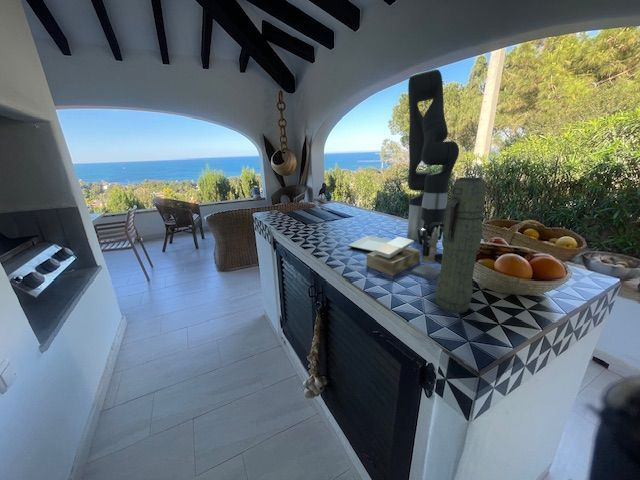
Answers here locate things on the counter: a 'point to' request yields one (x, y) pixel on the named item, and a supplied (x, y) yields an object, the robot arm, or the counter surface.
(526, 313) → the counter surface
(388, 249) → the white flat slab
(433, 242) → the dowel
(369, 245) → the plate
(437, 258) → the phone
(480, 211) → the thermos
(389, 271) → the switch block
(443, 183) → the robot arm
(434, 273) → the slate pad
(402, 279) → the counter surface
